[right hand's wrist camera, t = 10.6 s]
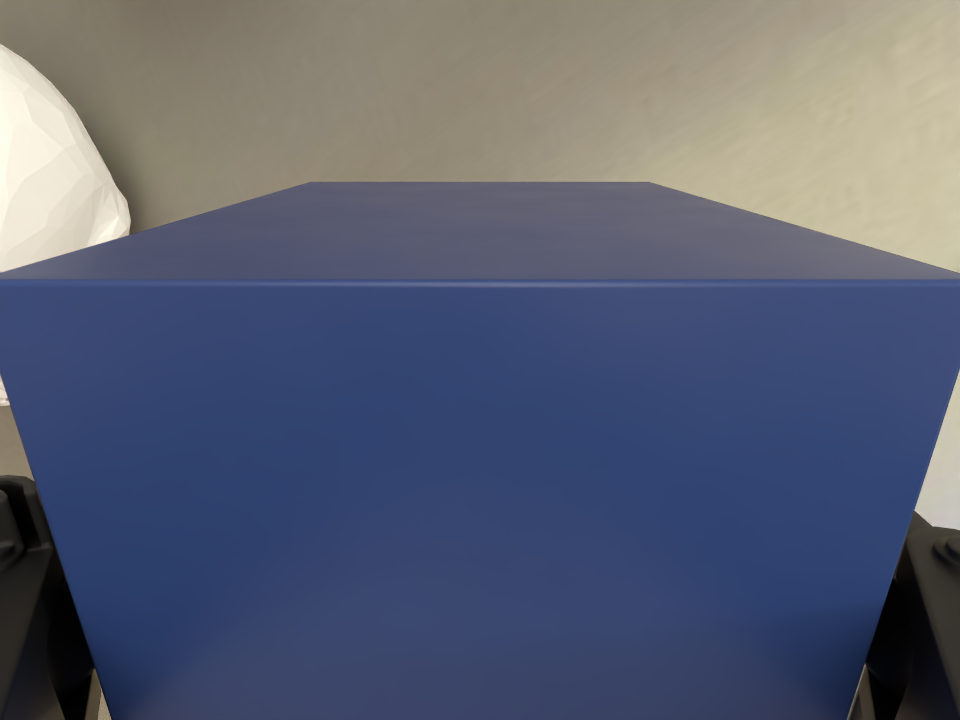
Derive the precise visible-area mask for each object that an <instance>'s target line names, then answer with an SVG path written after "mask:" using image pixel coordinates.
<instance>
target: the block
mask: <svg viewBox="0 0 960 720" xmlns="http://www.w3.org/2000/svg"><path fill="white" fill-rule="evenodd" d="M959 370H960V273H957V272H953V271H950V270H947V269H943V268H940V267H936V266H933V265H930V264H926V263H923V262H919V261H916V260H913V259H909V258H906V257H902V256H899V255H896V254H892V253H889V252H885V251H882V250H879V249H875V248H872V247H868V246H865V245H862V244H858V243H855V242H851V241H848V240H845V239H841V238H838V237H834V236H831V235H827V234H824V233H821V232H817V231H814V230H810V229H807V228H804V227H800V226H797V225H793V224H790V223H787V222H783V221H780V220H776V219H773V218H770V217H766V216H763V215H759V214H756V213H753V212H749V211H746V210H742V209H739V208H736V207H732V206H729V205H725V204H722V203H719V202H715V201H712V200H708V199H705V198H702V197H698V196H695V195H691V194H688V193H684V192H681V191H678V190H674V189H671V188H667V187H664V186H661V185H657V184H654V183H650V182H309V183H306V184H302V185H299V186H295V187H292V188H289V189H285V190H282V191H278V192H275V193H271V194H268V195H265V196H261V197H258V198H254V199H251V200H247V201H244V202H241V203H237V204H234V205H230V206H227V207H224V208H220V209H217V210H213V211H210V212H206V213H203V214H200V215H196V216H193V217H189V218H186V219H182V220H179V221H176V222H172V223H169V224H165V225H162V226H159V227H155V228H152V229H148V230H145V231H141V232H138V233H135V234H131V235H128V236H124V237H121V238H117V239H114V240H111V241H107V242H104V243H100V244H97V245H94V246H90V247H87V248H83V249H80V250H76V251H73V252H70V253H66V254H63V255H59V256H56V257H52V258H49V259H46V260H42V261H39V262H35V263H32V264H28V265H25V266H22V267H18V268H15V269H11V270H8V271H5V272H1V273H0V376H1V379H2V382H3V385H4V388H5V391H6V394H7V397H8V400H9V404H10V407H11V410H12V413H13V416H14V419H15V422H16V425H17V428H18V431H19V435H20V438H21V441H22V444H23V447H24V450H25V453H26V456H27V459H28V462H29V465H30V469H31V472H32V475H33V478H34V481H35V484H36V487H37V490H38V493H39V496H40V499H41V503H42V506H43V509H44V512H45V515H46V518H47V521H48V524H49V527H50V530H51V534H52V537H53V540H54V543H55V546H56V549H57V552H58V555H59V558H60V561H61V564H62V568H63V571H64V574H65V577H66V580H67V583H68V586H69V589H70V592H71V595H72V599H73V602H74V605H75V608H76V611H77V614H78V617H79V620H80V623H81V626H82V629H83V633H84V636H85V639H86V642H87V645H88V648H89V651H90V654H91V657H92V660H93V664H94V667H95V670H96V673H97V676H98V679H99V682H100V685H101V688H102V691H103V694H104V698H105V701H106V704H107V707H108V710H109V713H110V716H111V719H112V720H847V718H848V715H849V712H850V708H851V705H852V702H853V699H854V696H855V693H856V690H857V687H858V684H859V680H860V677H861V674H862V671H863V668H864V665H865V662H866V659H867V656H868V652H869V649H870V646H871V643H872V640H873V637H874V634H875V631H876V628H877V624H878V621H879V618H880V615H881V612H882V609H883V606H884V603H885V600H886V596H887V593H888V590H889V587H890V584H891V581H892V578H893V575H894V572H895V569H896V565H897V562H898V559H899V556H900V553H901V550H902V547H903V544H904V541H905V537H906V534H907V531H908V528H909V525H910V522H911V519H912V516H913V513H914V509H915V506H916V503H917V500H918V497H919V494H920V491H921V488H922V485H923V481H924V478H925V475H926V472H927V469H928V466H929V463H930V460H931V457H932V453H933V450H934V447H935V444H936V441H937V438H938V435H939V432H940V429H941V426H942V422H943V419H944V416H945V413H946V410H947V407H948V404H949V401H950V398H951V394H952V391H953V388H954V385H955V382H956V379H957V376H958V373H959Z"/></svg>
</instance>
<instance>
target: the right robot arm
mask: <svg viewBox="0 0 960 720" xmlns="http://www.w3.org/2000/svg"><path fill="white" fill-rule="evenodd" d="M100 697H101V688H100V682H99V679H98V676H97V673H96V670H95V667H94V664H93V660H92V657H91V654H90V651H89V648H88V645H87V642H86V639H85V636H84V633H83V629H82V626H81V623H80V620H79V617H78V614H77V611H76V608H75V605H74V602H73V599H72V595H71V592H70V589H69V586H68V583H67V580H66V577H65V574H64V571H63V568H62V564H61V561H60V558H59V555H58V552H57V549H56V546H55V543H54V540H53V537H52V534H51V530H50V527H49V524H48V521H47V518H46V515H45V512H44V509H43V506H42V503H41V499H40V496H39V493H38V490H37V487H36V484H35V482H34V481H32V480H31V479H29V478H27V477H24V476H13V475H4V476H0V720H97V719H98V712H99V705H100ZM847 720H960V530H956V529H949V528H942V527H932V526H931V525H930V524H929V523H928V522H927V521H926V520H924V519H923V518H922V517H921V516H920V515H919V514H918V513H916V512H915V511H914V513H913V516H912V519H911V522H910V525H909V528H908V531H907V534H906V537H905V541H904V544H903V547H902V550H901V553H900V556H899V559H898V562H897V565H896V569H895V572H894V575H893V578H892V581H891V584H890V587H889V590H888V593H887V596H886V600H885V603H884V606H883V609H882V612H881V615H880V618H879V621H878V624H877V628H876V631H875V634H874V637H873V640H872V643H871V646H870V649H869V652H868V656H867V659H866V662H865V665H864V668H863V671H862V674H861V677H860V680H859V684H858V687H857V690H856V693H855V696H854V699H853V702H852V705H851V708H850V712H849V715H848V718H847Z"/></svg>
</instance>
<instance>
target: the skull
mask: <svg viewBox="0 0 960 720" xmlns="http://www.w3.org/2000/svg"><path fill="white" fill-rule="evenodd" d="M130 223H131V219H130V214H129V209H128V204H127V200H126V199H125V197H124V196H123V195H122V193H121V192H120V191H119V189H118V188H117V187H116V185H115V183H114V181H113V179H112V176H111V174H110V172H109V170H108V168H107V167H106V165H105V163H104V161H103V159H102V158H101V156H100V154H99V152H98V151H97V149H96V147H95V145H94V143H93V142H92V140H91V138H90V136H89V134H88V133H87V131H86V129H85V127H84V125H83V124H82V122H81V120H80V118H79V116H78V115H77V113H76V111H75V110H74V108H73V107H72V106H71V105H70V104H69V102H68V101H67V100H66V99H65V98H64V97H63V96H62V94H61V93H60V92H59V91H58V90H57V89H56V88H55V86H54V85H53V84H52V83H51V82H50V81H49V80H48V79H47V78H46V77H44V76H43V75H42V74H41V73H40V72H39V71H38V70H36V69H35V68H34V67H33V66H32V65H31V64H30V63H28V62H27V61H26V60H25V59H23V58H22V57H20V56H18V55H17V54H15V53H14V52H12V51H11V50H9V49H8V48H6V47H4V46H3V45H1V44H0V273H1V272H5V271H8V270H11V269H15V268H18V267H22V266H25V265H28V264H32V263H35V262H39V261H42V260H46V259H49V258H52V257H56V256H59V255H63V254H66V253H70V252H73V251H76V250H80V249H83V248H87V247H90V246H94V245H97V244H100V243H104V242H107V241H111V240H114V239H117V238H121V237H124V236H128V235H129V230H130ZM6 405H10V404H9V401H8V397H7V394H6V391H5V388H4V385H3V382H2V379H1V376H0V406H6Z"/></svg>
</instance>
